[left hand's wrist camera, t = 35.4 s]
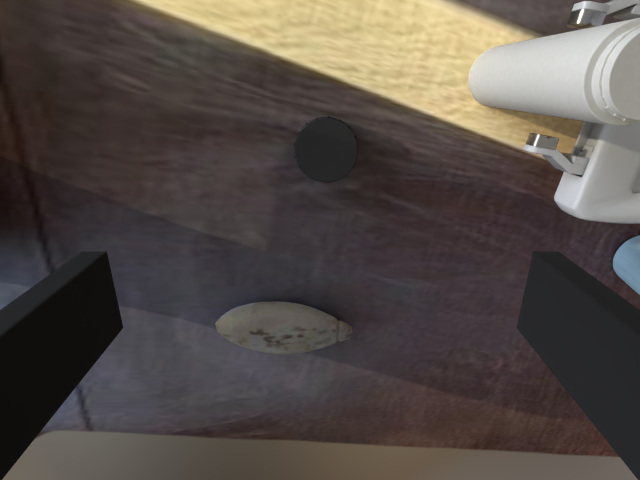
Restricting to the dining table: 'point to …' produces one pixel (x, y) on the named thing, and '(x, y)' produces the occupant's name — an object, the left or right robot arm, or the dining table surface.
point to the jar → (566, 75)
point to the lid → (326, 149)
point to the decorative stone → (281, 327)
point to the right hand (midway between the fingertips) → (550, 81)
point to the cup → (629, 263)
